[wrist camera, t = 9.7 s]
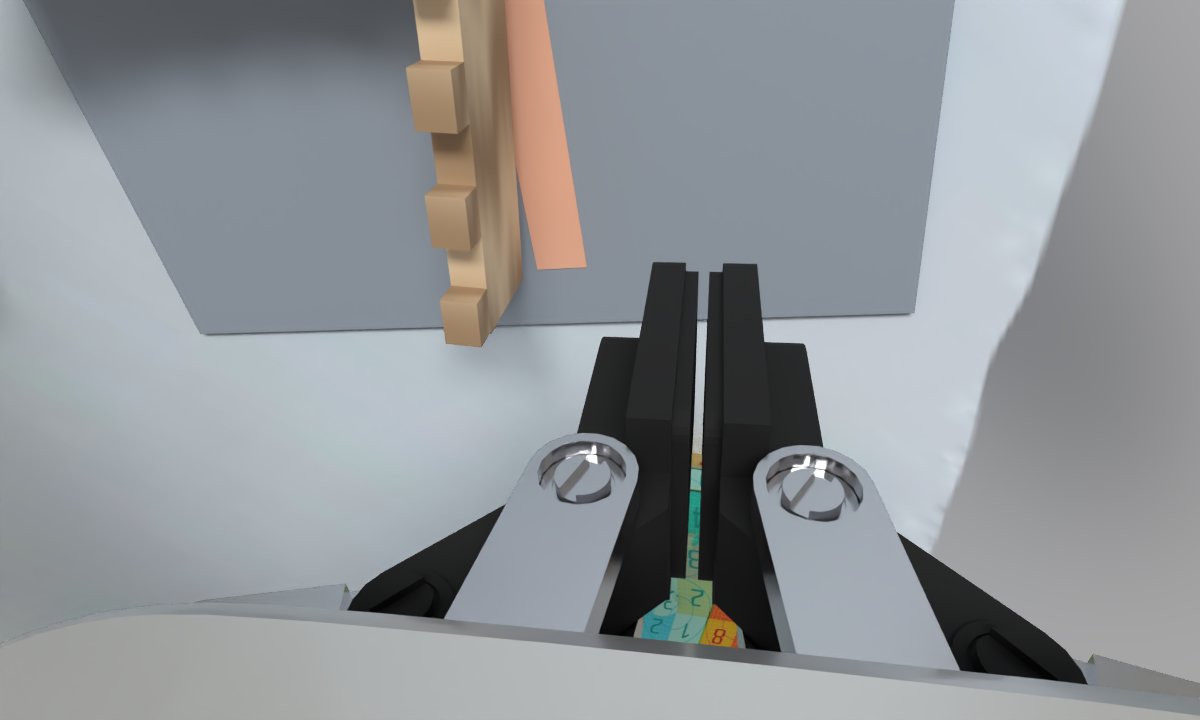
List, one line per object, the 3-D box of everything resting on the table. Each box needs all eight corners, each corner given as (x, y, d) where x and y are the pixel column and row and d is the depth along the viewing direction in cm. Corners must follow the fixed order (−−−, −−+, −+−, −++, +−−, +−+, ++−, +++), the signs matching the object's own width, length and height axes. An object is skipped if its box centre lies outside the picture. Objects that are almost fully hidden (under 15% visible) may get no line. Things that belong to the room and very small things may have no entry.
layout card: (-179, -398, 19) (-193, -403, 19) (1059, -846, 12) (1067, -863, 12) (204, 330, 32) (199, 334, 32) (912, 309, 25) (914, 313, 25)
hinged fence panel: (446, -205, 19) (347, -237, 14) (509, -206, 18) (429, -239, 14) (490, 267, 27) (437, 345, 22) (535, 271, 27) (490, 351, 22)
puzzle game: (875, 533, 26) (786, 781, 37) (859, 450, 30) (782, 699, 41) (574, 490, 28) (576, 740, 39) (595, 417, 31) (591, 665, 43)
